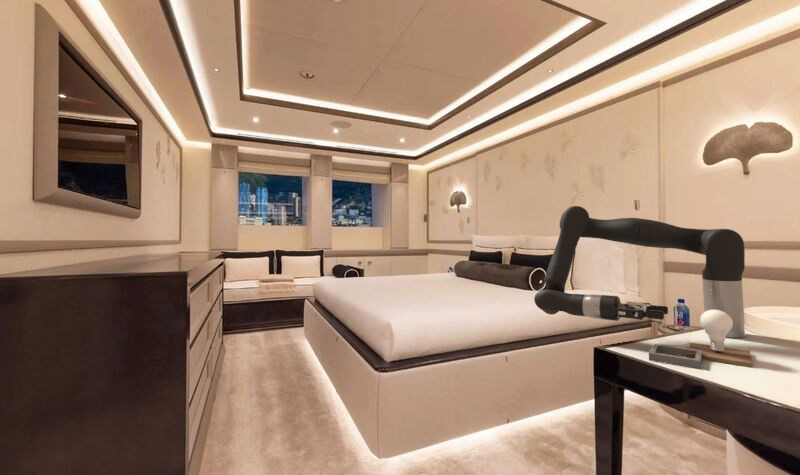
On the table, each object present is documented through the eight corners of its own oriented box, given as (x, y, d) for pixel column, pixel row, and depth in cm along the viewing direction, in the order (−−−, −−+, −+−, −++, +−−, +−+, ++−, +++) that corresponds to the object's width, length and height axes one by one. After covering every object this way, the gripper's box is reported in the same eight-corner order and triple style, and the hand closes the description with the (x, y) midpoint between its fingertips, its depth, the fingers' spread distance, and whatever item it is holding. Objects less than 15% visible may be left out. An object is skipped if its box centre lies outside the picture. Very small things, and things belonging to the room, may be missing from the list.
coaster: (690, 346, 99) (690, 342, 99) (750, 354, 91) (749, 350, 91) (686, 357, 90) (686, 353, 90) (752, 367, 82) (752, 363, 82)
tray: (655, 350, 97) (654, 343, 97) (702, 357, 90) (702, 350, 90) (649, 360, 89) (648, 353, 89) (700, 368, 82) (699, 361, 82)
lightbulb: (738, 352, 90) (735, 309, 90) (729, 357, 86) (727, 313, 86) (706, 346, 95) (704, 306, 95) (697, 351, 92) (695, 309, 92)
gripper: (594, 298, 104) (662, 303, 93) (606, 292, 114) (668, 296, 103) (595, 323, 104) (663, 331, 93) (607, 315, 114) (669, 321, 103)
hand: (665, 312), depth 98 cm, fingers open, 8 cm apart
